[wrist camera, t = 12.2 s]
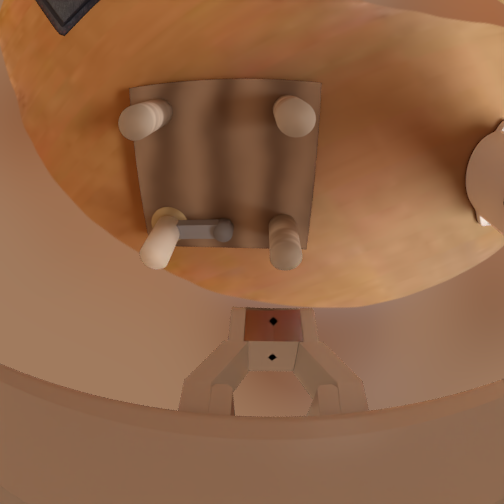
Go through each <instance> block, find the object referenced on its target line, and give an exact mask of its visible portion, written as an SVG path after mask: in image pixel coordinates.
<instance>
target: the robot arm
mask: <svg viewBox="0 0 504 504" xmlns="http://www.w3.org/2000/svg"><path fill="white" fill-rule="evenodd" d="M466 190H467V195H468V198H469V200H470V202H471V204H472V205H473V207H474V208H475V210H476V216H477V221H478V223H479V224H480V225H482V226H487V225H492V226H493V227H494V228H496V229H497V230H498V231H499V232H500V233H502V234H503V235H504V121H502V122H501V123H500V125H499V126H498V128H497V129H496V130H495V131H494V132H493V133H491V134H489V135H487V136H486V137H484V138H483V139H482V140H481V141H480V142H479V143H478V145H477V146H476V148H475V149H474V151H473V153H472V155H471V157H470V160H469V163H468V167H467V173H466ZM248 371H292V372H293V373H294V374H295V376H296V377H297V379H298V380H299V381H300V383H301V384H302V385H303V387H304V388H305V389H306V391H307V392H308V394H309V395H310V396H311V398H312V399H313V401H312V403H311V407H310V409H309V411H308V413H307V416H297V417H296V416H295V417H254V416H253V417H252V416H235V410H234V401H233V400H234V399H233V392H234V391H235V389H236V388H237V387H238V385H239V384H240V383H241V381H242V380H243V379H244V377H245V376H246V375H247V373H248ZM0 504H504V379H501V380H498V381H496V382H493V383H490V384H487V385H483V386H480V387H477V388H474V389H471V390H467V391H464V392H460V393H457V394H453V395H449V396H445V397H441V398H437V399H432V400H428V401H423V402H418V403H414V404H408V405H403V406H397V407H391V408H385V409H378V410H371V411H369V409H368V404H367V399H366V394H365V389H364V385H363V381H362V380H361V379H360V378H359V377H357V375H356V374H355V373H354V372H353V371H352V370H351V369H350V368H349V367H348V366H347V365H346V364H344V362H343V361H342V360H341V359H340V358H339V357H338V356H337V355H336V354H335V353H334V352H333V351H332V350H331V349H330V348H329V347H328V346H327V345H326V344H325V343H324V342H319V339H318V333H317V326H316V321H315V315H314V310H313V309H312V308H300V309H298V308H293V309H292V308H290V309H288V308H287V309H286V308H285V309H284V308H283V309H281V308H276V309H275V308H273V309H270V308H268V309H267V308H243V307H232V310H231V317H230V327H229V336H228V341H223V342H222V343H221V344H220V345H219V346H218V347H217V348H216V349H215V350H214V351H213V352H212V353H211V354H210V355H209V356H208V357H207V358H206V359H205V360H204V361H203V362H202V363H201V364H200V365H199V366H198V367H197V368H196V369H195V370H194V371H193V372H192V373H191V374H190V375H189V376H188V377H187V378H186V379H185V380H184V383H183V388H182V393H181V398H180V403H179V408H178V411H177V410H169V409H162V408H155V407H149V406H144V405H138V404H133V403H128V402H122V401H118V400H113V399H109V398H105V397H100V396H96V395H92V394H88V393H85V392H81V391H77V390H74V389H70V388H67V387H63V386H60V385H57V384H54V383H51V382H48V381H45V380H42V379H39V378H36V377H33V376H31V375H28V374H25V373H23V372H20V371H17V370H15V369H12V368H9V367H7V366H5V365H3V364H0Z"/></svg>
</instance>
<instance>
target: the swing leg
mask: <svg viewBox="0 0 504 504" xmlns="http://www.w3.org/2000/svg"><path fill="white" fill-rule="evenodd" d="M233 229H234V225H233V223H232V222H231V221H230V219H206V220H177V219H176V218H174V217H172V216H163V217H161V218H160V219H159V220H158V221H157V223H156V224H155V226H154V228H153V229H152V231H151V233H150V234H149V236H148V238H147V239H146V241H145V243H144V244H143V246H142V248H141V250H140V253H139V254H140V258H141V260H142V262H143V263H144V264H145V265H146V266H148V267H149V268H152V269H156V270H158V269H163V268H164V267H166V266H167V264H168V262H169V260H170V257H171V255H172V253H173V250H174V248H175V246H176V244H177V241H178V239H216V240H218V241H220V242H227V241H229V240H230V239H231V238H232V235H233Z"/></svg>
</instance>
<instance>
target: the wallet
mask: <svg viewBox="0 0 504 504" xmlns="http://www.w3.org/2000/svg"><path fill="white" fill-rule="evenodd" d="M99 1H100V0H36V2H37V3H38V5H39V6H40V8H41V9H42V11H43V12H44V14H45V15H46V16H47V18H48V19H49V21H50V22H51V24H52V25H53V26H54V28H55V29H56V30H57V32H58V33H59V34H60V35H63V36H65V35H66V34H67V33H68V32H69V31H70V30H71V29H72V28H73V27H74V26H75V25H76V24H77V23H78V22H79V20H80V19H81V18H82V17H83V16H84V15H85V14H86V13H87V12H88V11H89V10H90V9H91V8H92V7H93V6H94V5H95V4H96V3H98V2H99Z"/></svg>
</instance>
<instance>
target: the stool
mask: <svg viewBox="0 0 504 504" xmlns="http://www.w3.org/2000/svg"><path fill="white" fill-rule="evenodd" d="M321 86H322V83H319V82H309V81H296V80H279V79H212V80H195V81H182V82H172V83H163V84H155V85H147V86H140V87H134V88H129V93H130V106H129V107H127V108H126V109H124V110H123V112H122V113H121V115H120V117H119V121H118V125H119V130H120V132H121V133H122V135H123V136H124V137H125V138H127V139H129V140H132V141H134V148H135V156H136V164H137V172H138V179H139V186H140V192H141V198H142V204H143V210H144V216H145V222H146V227H147V232H148V236H149V234H150V233H151V231H152V229H153V228H154V226H155V224H156V223H157V221H158V220H159V219H160V218H161V217H163V216H172V217H174V218H176V219H177V220H206V219H230V221H231V222H232V223H233V225H234V229H233V235H232V238H231V239H230V240H229V241H227V242H220V241H218V240H216V239H178V241H177V244H176V246H186V247H228V248H268V249H270V261H271V263H272V265H273V266H274V267H275V268H277V269H280V270H291V269H294V268H296V267H297V266H298V265H299V264H300V263H301V261H302V251H301V249H307V241H308V233H309V225H310V216H311V208H312V198H313V189H314V179H315V169H316V158H317V146H318V133H319V119H320V104H321Z"/></svg>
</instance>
